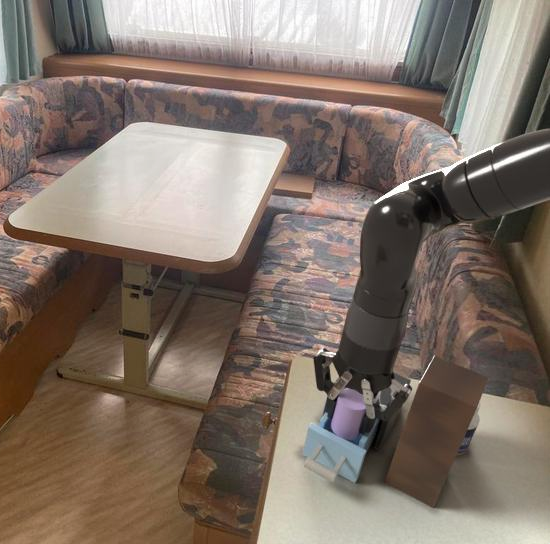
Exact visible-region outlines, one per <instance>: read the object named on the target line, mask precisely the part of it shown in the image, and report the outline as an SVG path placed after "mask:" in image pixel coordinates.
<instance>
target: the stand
mask: <svg viewBox="0 0 550 544" xmlns="http://www.w3.org/2000/svg"><path fill="white" fill-rule="evenodd" d="M488 381H489V377H488V376H486V375H484V374H482V373H480V372H476V371H474V370H471V369H469V368H466V367H464V366H461V365H459V364H456V363H455V362H451V361H450V360H446V359H444V358H441V357H439V356H437V355H433V357H432V358H431V360H430V363H429V364H428V366H427V367H426V369H425V371H424V374H423V375H422V377H421V378H420V381H419V382H418V385H417V387H416V392H415V394H414V396H413V399H412V402H411V405H410V408H409V411H408V412H407V413H408V414H407V416H406V419H405V422H404V425H403V428H402V430H401V434H400V436H399V439H398V442H397V444H396V449H395V450H394V453H393V456H392V459H391V462H390V465H389V468H388V471H387V473H386V476H385V478H384V483H385V484H386V485H388V486H390V487H392V488H394V489H396V490H398V491H399V492H401V493H403V494H405V495H407V496H409V497H411V498H413V499H415V500H416V501H418V502H421V503H423V504H424V505H426V506H428V507H430V508H432V509H434V507H435V506H436V504H437V501H438V499H439V497H440V494H441V491H442V489H443V488H444V485H445V482H446V481H447V478H448V476H449V474H450V471H451V470H452V469H451V468H452V466H453V464H454V462H455V459H456V457H457V456H458V455H457V453H458V450H459V448H460V446H461V443H462V441H463V439H464V437H465V434H466V432H467V430H468V427H469V425H470V423H471V420H472V418H473V416H474V414H475V411H476V409H477V407H478V404H479V402H480V401H481V399H482V397H483V394H484V392H485V389H486V386H487V384H488Z"/></svg>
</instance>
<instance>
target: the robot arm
mask: <svg viewBox="0 0 550 544" xmlns="http://www.w3.org/2000/svg"><path fill="white" fill-rule="evenodd" d="M547 201H550V127H549V128H545V129H544V128H543V129H539V130H535V131H531V132H528V133H527V132H526V133H523V134H520V135H518V136H514V137H512V138H509V139H507V140H504V141H502V142H499V143H497V144H495V145H492V146H491V147H489V148H486V149H484V150H481V151H479V152H477V153H475V154H473V155H470V156H468V157H465V158H464V159H462V160H460V161H458V162H456V163H454V164H453V165H451V166H448V167H445V168H442V169H439V170H436V171H433V172H430V173H426V174H423V175H421V176H418V177H416V178H413V179H411V180H409V181H406V182H404V183H402V184H400V185H398V186H396V187H395V188H393V189H392V190H390V191H389V192H387V193H386V194H385V195H383V196H381V197H380V198H378V199H377V200H376V201H374V202H373V203H372V205H370V207H369V208H368V210H367V212H366V214H365V216H364V219H363V222H362V225H361V230H360V237H359V238H360V239H359V265H360V269H359V272H358V276H357V280H356V284H355V288H354V293H353V295H352V299H351V301H350V303H349V306H348V309H347V311H346V316H345V320H344V324H343V328H342V331H341V337H340V340H339V345H338V350H337V351H336V352H329V350H328V349H327V348H326V347H321V348H320V349H319V350H318V351H317V353H315V355H314V356H313V357H312V359H313V360H312V361H313V367H314V368H313V369H314V375H315V384H316V389H317V390H318V391H320V392H324V393H325V394H326V400H327V402H326V401H325V404H326V406H325V405H324V408H325V412H326V413H328V415H327V417H329V418H331V419H332V418H333V414H334V410H335V407H336V403H337V399H338V395H339V393H340V392H341V391H342V389H343V388H344V387H347V388H349V389H352V390H356V391H357V392H359V393H360V394H362V395H363V399H364V405H366V413H365V415H364V418H363V421H362V424H361V428H360V431H359V433H361V434H363V435H364V434H365V432H367V433H369V432H371V430H372V428H373V427H374V424H375V421H376V418H380V421H381V422H382V421H385V422H386V421H388V420H389V419H390V418H391V417H392V416H393V415H394V413H395V412H396V411H397V410H398V409H399V408H400V407H401V406H402V407H403V405H404V404H405V403H406V402H407V400H408V398H409V397H410V395H411V393H412V391H413V387H412V386H411V384H410V385H408V384H405V385H404V386H403V385H402V384H400V383H399V382H398V381H396V380H395V376H394V373H395V372H394V368H395V365H396V361H397V358H398V355H399V352H400V349H401V345H402V342H403V340H404V338H405V336H406V330H407V326H408V321H409V314H410V310H411V307H412V303H413V300H414V298H415V293H416V291H417V288H418V281H419V273H418V272H419V271H418V270H417V267H416V262H417V257H418V255H419V253H420V250H421V248H422V245H423V244H424V243H425V242H426V241H427V240H428V239H430V237H432V235H434V234H436V233H438V232H441V231H443V230H446V229H448V228H451V227H455V226H457V225H460V224H463V223H465V224H469V225H476V224H481V223H485V222H488V221H492V220H495V219H498V218H501V217H503V216H507V215H509V214H512V213H515V212H518V211H521V210H524V209H526V208H529V207H532V206H536V205H538V204H541V203H543V202H547ZM331 364H332V365H333V367H334V369H335V371H336V373H337V375H338V377H339V379H338V381H337V382H336V383H335V384H334V382H333V381H332V374H331ZM393 372H394V373H393ZM388 387H390V389H391V393H390V395H391V398H392V399H391V400H390V401H389V402H388V404H387V405H386V406H384V405H381V403H380V395H381V391H382V390H384V389H386V388H388ZM327 396H328V398H327Z"/></svg>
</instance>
